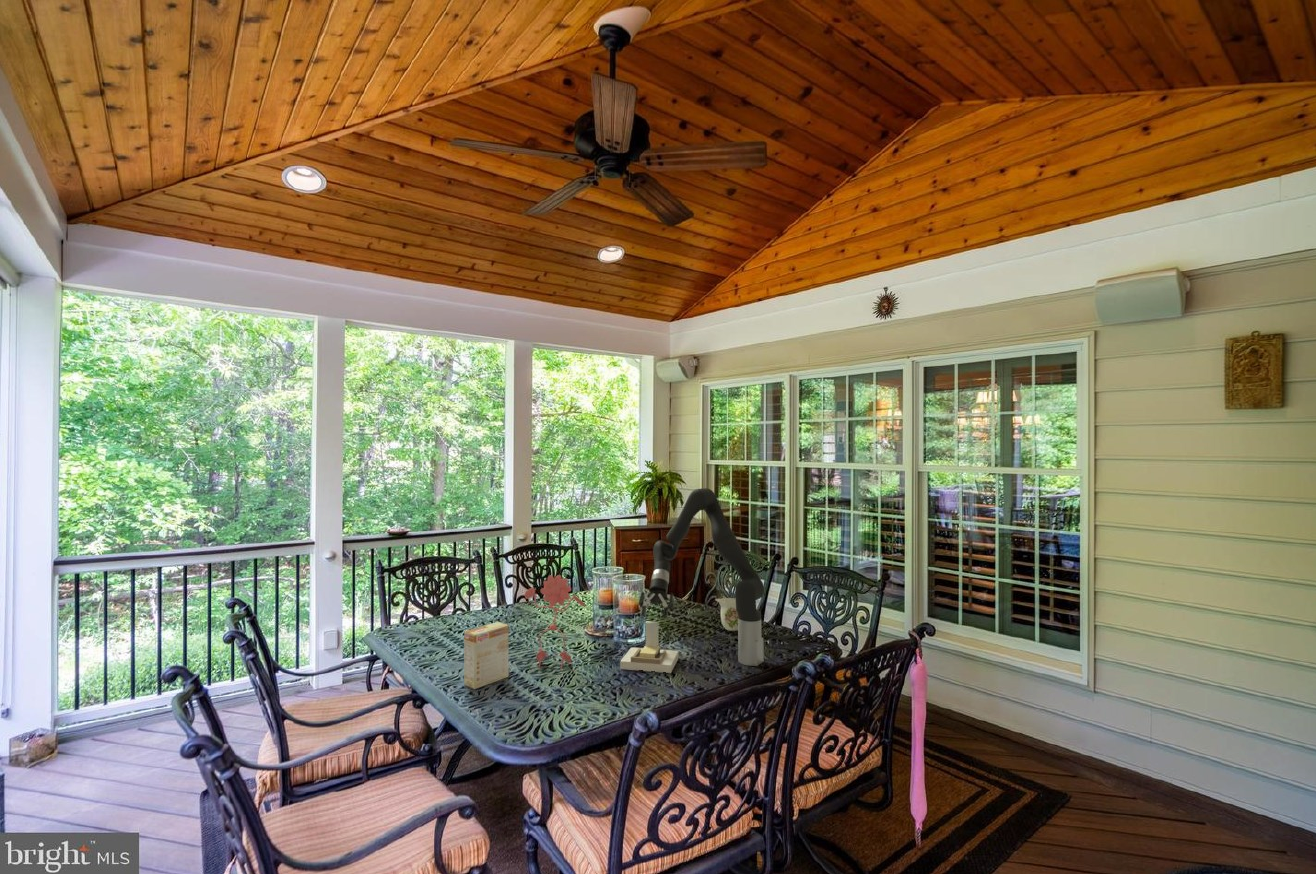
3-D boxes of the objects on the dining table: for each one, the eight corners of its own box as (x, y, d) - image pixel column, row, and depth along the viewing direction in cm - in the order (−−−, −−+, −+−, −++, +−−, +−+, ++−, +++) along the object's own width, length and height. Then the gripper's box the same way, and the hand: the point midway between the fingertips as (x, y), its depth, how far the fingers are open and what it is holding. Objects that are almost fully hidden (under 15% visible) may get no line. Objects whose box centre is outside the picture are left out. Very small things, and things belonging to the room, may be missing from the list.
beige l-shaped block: (644, 651, 237) (644, 620, 237) (660, 652, 235) (660, 621, 236) (639, 659, 228) (639, 627, 228) (655, 660, 226) (655, 628, 227)
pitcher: (754, 632, 270) (754, 603, 271) (715, 632, 272) (715, 602, 272) (752, 625, 281) (752, 597, 282) (715, 625, 283) (714, 596, 283)
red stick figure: (581, 671, 224) (581, 579, 226) (518, 667, 229) (519, 577, 230) (593, 658, 239) (593, 572, 241) (533, 654, 244) (534, 570, 245)
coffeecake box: (498, 672, 224) (498, 621, 224) (509, 677, 219) (509, 624, 219) (463, 684, 212) (463, 630, 212) (474, 689, 207) (474, 634, 208)
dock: (678, 658, 238) (678, 646, 238) (670, 673, 222) (670, 660, 222) (631, 654, 243) (631, 642, 243) (620, 669, 227) (620, 656, 227)
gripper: (642, 576, 249) (635, 611, 238) (674, 578, 246) (669, 612, 235) (645, 586, 255) (638, 620, 243) (677, 587, 251) (672, 622, 240)
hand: (654, 616), depth 239 cm, fingers open, 8 cm apart
